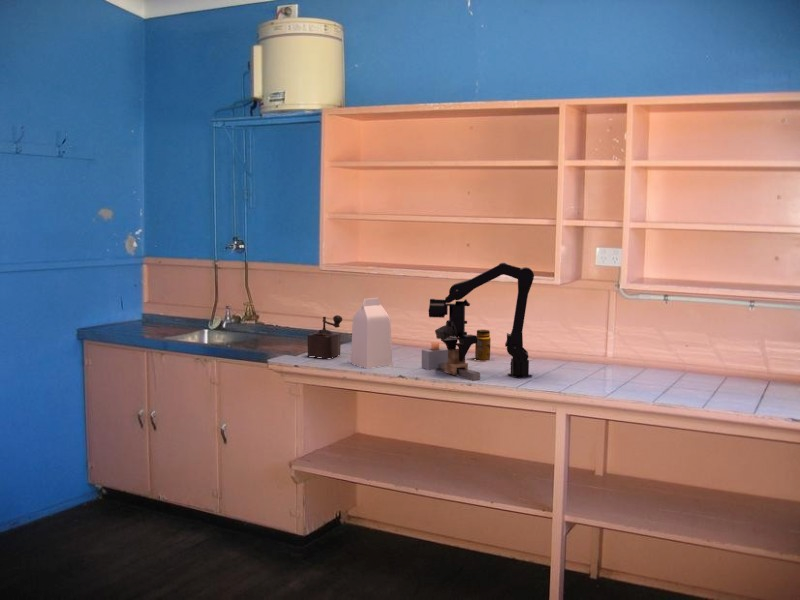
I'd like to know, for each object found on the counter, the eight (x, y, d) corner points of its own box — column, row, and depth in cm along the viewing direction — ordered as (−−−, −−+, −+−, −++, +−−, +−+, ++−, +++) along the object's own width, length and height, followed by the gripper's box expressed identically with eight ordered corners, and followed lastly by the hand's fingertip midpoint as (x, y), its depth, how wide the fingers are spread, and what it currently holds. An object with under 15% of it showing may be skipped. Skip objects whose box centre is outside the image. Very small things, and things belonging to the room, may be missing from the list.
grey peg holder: (448, 367, 307) (448, 349, 307) (428, 369, 303) (428, 351, 302) (441, 365, 312) (441, 347, 311) (421, 367, 307) (421, 349, 306)
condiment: (494, 360, 325) (495, 330, 323) (478, 362, 320) (478, 332, 319) (483, 357, 331) (483, 328, 330) (466, 359, 326) (467, 330, 325)
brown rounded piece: (440, 351, 306) (440, 343, 306) (434, 351, 305) (434, 344, 304) (436, 350, 309) (436, 342, 308) (429, 350, 307) (429, 343, 307)
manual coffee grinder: (305, 357, 327) (305, 314, 325) (319, 353, 337) (319, 311, 335) (339, 360, 321) (339, 316, 319) (352, 356, 331) (352, 313, 329)
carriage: (467, 373, 294) (468, 350, 293) (454, 374, 291) (454, 351, 290) (458, 370, 299) (458, 348, 298) (444, 372, 296) (445, 349, 295)
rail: (483, 379, 286) (483, 372, 286) (469, 381, 283) (469, 374, 283) (448, 369, 305) (448, 362, 305) (435, 370, 302) (435, 363, 302)
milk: (366, 368, 305) (367, 300, 302) (350, 364, 314) (350, 298, 311) (392, 365, 312) (393, 298, 309) (375, 361, 321) (376, 296, 318)
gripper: (424, 316, 297) (424, 358, 299) (453, 322, 281) (453, 366, 283) (449, 314, 303) (448, 355, 304) (479, 320, 287) (478, 363, 288)
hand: (456, 360), depth 295 cm, fingers open, 6 cm apart
